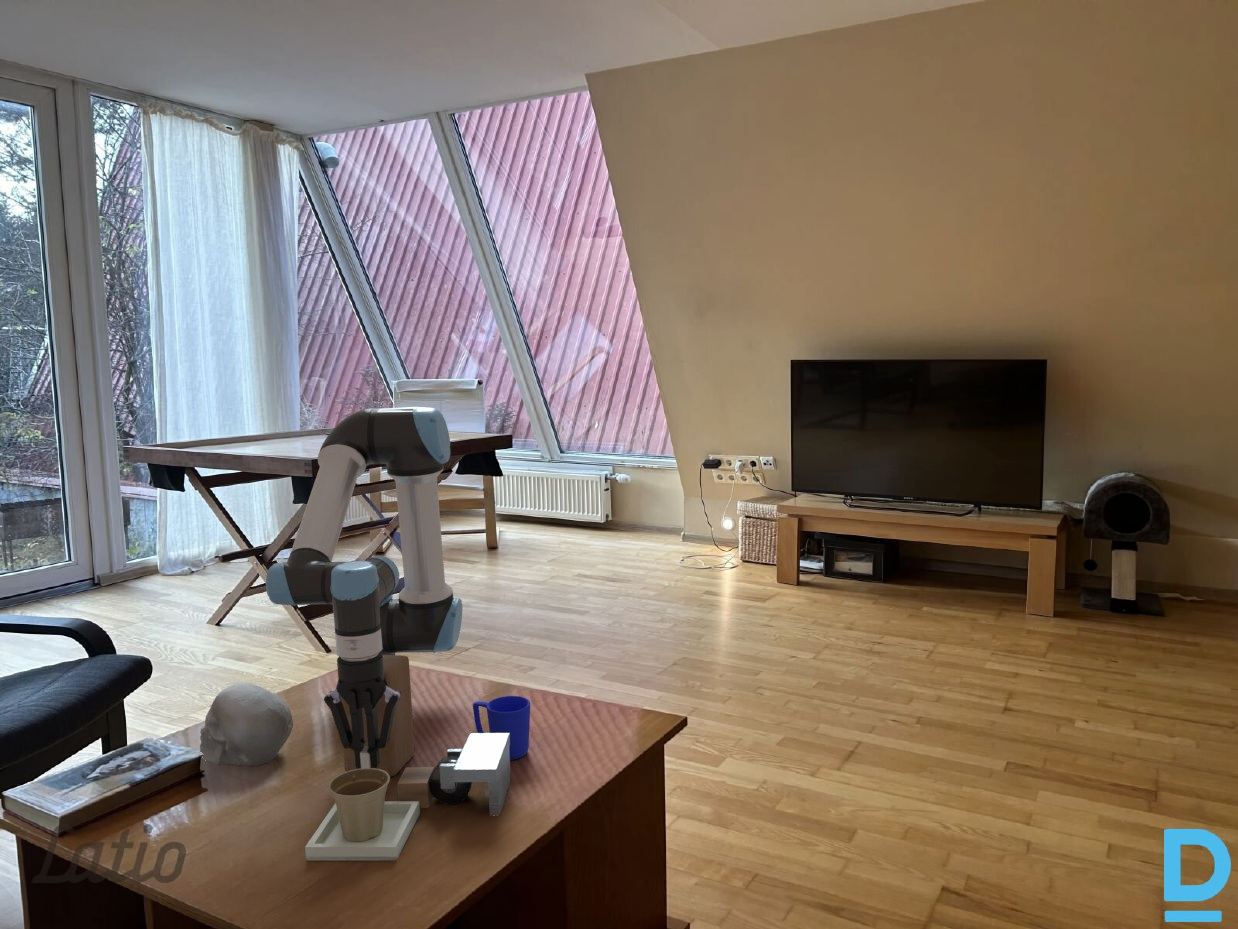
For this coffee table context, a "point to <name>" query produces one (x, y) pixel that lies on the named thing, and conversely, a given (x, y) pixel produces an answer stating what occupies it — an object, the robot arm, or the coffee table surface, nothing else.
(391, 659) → the wooden block
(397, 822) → the tray
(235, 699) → the skull
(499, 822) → the coffee table surface
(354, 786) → the flower pot
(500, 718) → the mug
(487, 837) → the coffee table surface
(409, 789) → the block
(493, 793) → the caster wheel
